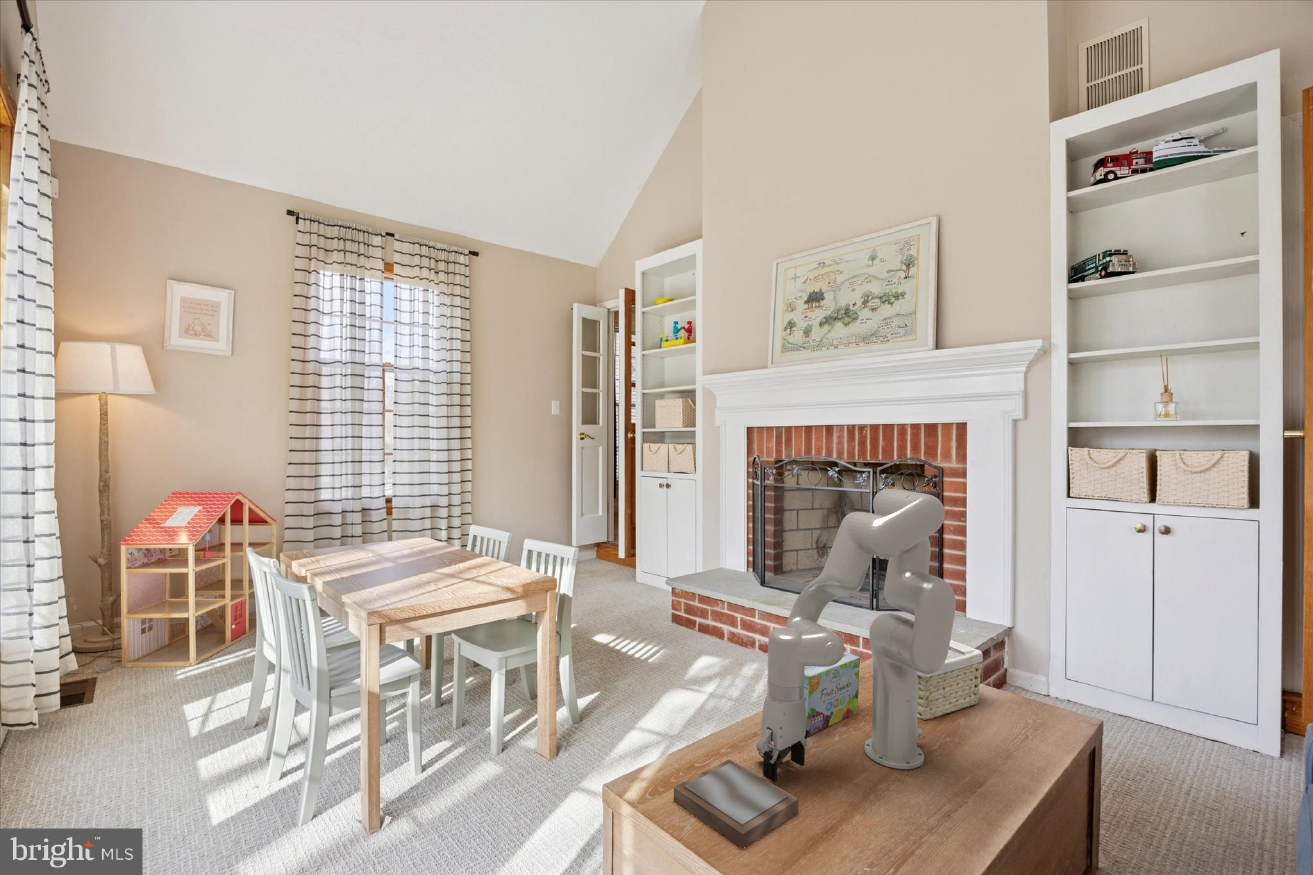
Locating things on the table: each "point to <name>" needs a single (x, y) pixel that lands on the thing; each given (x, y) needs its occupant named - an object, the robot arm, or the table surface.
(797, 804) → the picture frame
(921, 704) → the storage basket
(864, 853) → the table surface
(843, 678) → the snack box
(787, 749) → the eagle figurine
